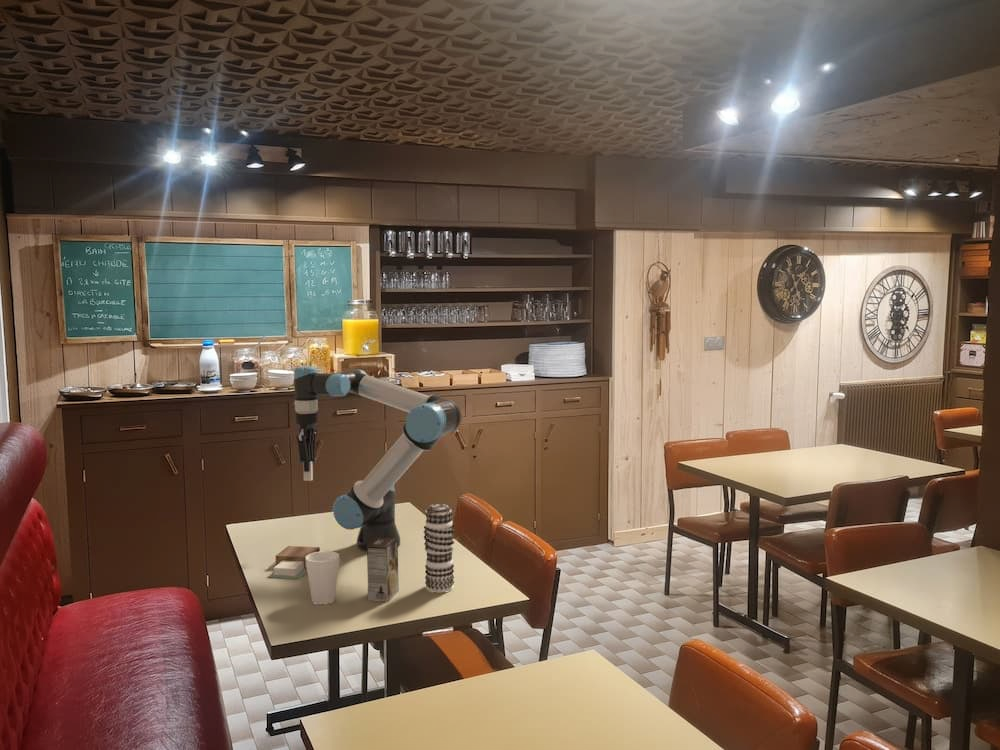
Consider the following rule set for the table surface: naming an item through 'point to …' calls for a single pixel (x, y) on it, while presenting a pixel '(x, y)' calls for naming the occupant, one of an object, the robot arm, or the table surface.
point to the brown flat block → (295, 554)
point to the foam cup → (322, 575)
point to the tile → (289, 568)
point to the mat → (290, 576)
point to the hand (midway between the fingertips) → (308, 480)
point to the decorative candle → (439, 548)
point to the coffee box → (382, 568)
